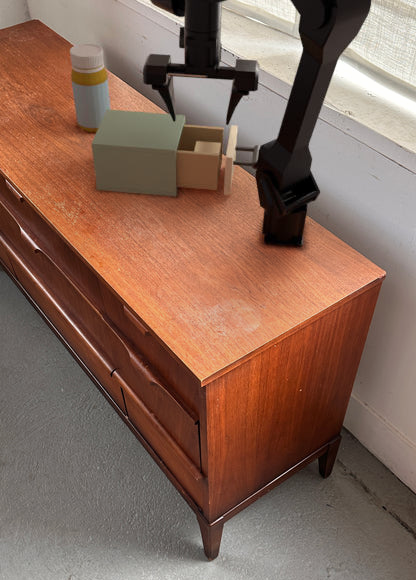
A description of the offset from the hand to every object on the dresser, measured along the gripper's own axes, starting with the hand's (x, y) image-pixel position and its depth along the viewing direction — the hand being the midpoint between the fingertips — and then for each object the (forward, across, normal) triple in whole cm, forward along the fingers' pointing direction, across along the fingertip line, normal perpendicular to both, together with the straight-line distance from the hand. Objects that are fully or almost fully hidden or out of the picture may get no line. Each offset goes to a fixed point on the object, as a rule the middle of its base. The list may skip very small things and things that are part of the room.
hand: (200, 122), depth 109 cm
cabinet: (+11, +11, 0) cm, 16 cm away
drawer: (+10, -2, 0) cm, 10 cm away
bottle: (+11, +24, -18) cm, 31 cm away
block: (+9, -1, 0) cm, 9 cm away
